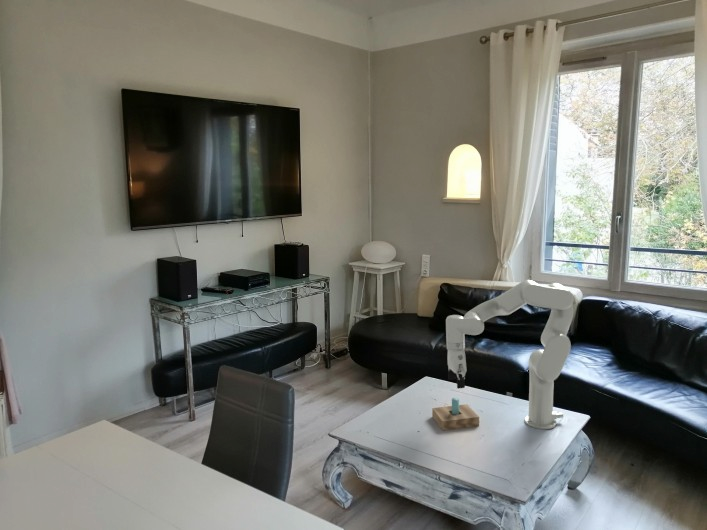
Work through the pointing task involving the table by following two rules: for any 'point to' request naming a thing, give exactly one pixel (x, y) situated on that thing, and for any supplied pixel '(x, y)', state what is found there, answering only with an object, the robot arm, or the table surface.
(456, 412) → the peg
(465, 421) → the hole block
